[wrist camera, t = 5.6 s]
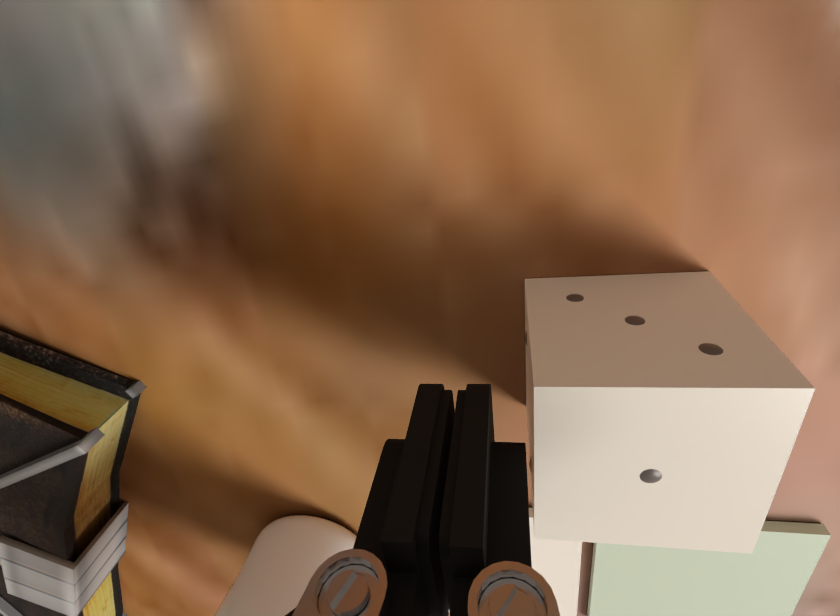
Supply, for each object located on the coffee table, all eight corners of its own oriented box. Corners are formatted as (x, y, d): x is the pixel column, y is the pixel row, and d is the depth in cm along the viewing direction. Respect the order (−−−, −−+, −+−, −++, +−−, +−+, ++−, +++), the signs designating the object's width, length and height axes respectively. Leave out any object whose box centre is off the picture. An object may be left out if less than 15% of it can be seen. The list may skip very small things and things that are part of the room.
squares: (393, 500, 18) (391, 509, 17) (823, 524, 15) (831, 535, 14) (417, 599, 21) (415, 609, 21) (770, 635, 18) (775, 646, 18)
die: (522, 277, 12) (530, 386, 8) (709, 269, 11) (817, 388, 7) (524, 406, 14) (532, 540, 11) (681, 408, 13) (753, 555, 10)
